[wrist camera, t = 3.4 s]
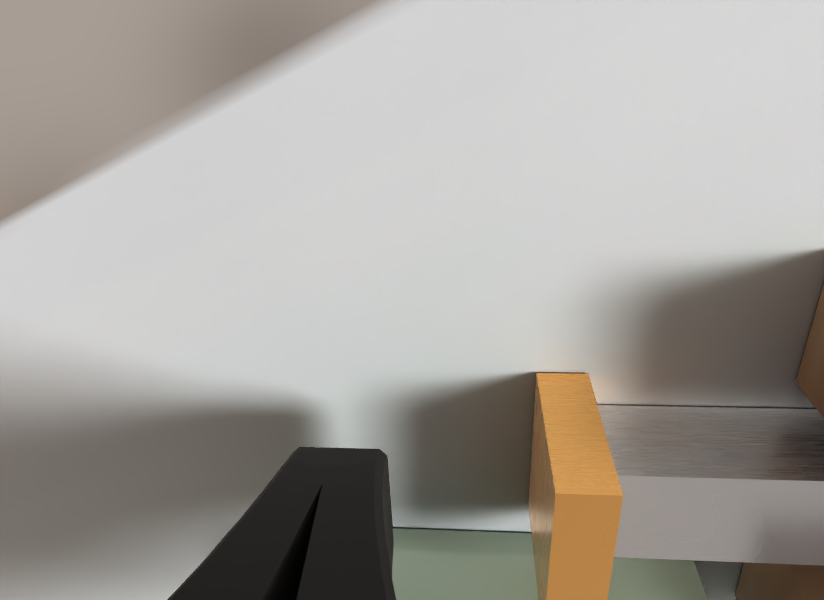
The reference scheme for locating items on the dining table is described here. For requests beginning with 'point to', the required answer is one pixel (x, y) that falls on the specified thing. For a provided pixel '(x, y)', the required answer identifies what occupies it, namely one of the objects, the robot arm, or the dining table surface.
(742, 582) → the socket block
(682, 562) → the tray
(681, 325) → the dining table surface
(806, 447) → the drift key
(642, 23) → the dining table surface
